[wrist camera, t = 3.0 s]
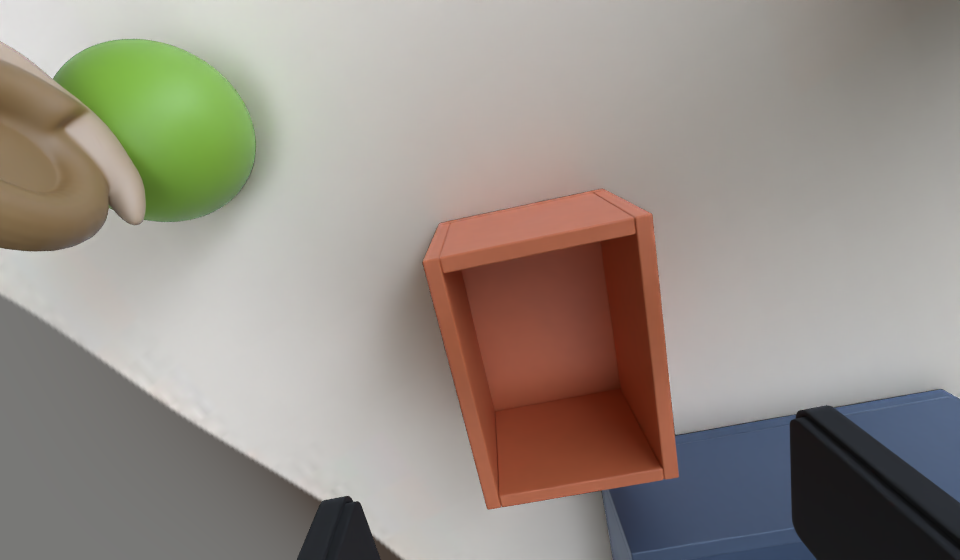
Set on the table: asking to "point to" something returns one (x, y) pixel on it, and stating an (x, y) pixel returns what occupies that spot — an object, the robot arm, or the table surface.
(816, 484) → the robot arm
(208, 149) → the snail figurine
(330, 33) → the table surface
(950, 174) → the table surface
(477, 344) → the small tote
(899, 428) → the big tote
